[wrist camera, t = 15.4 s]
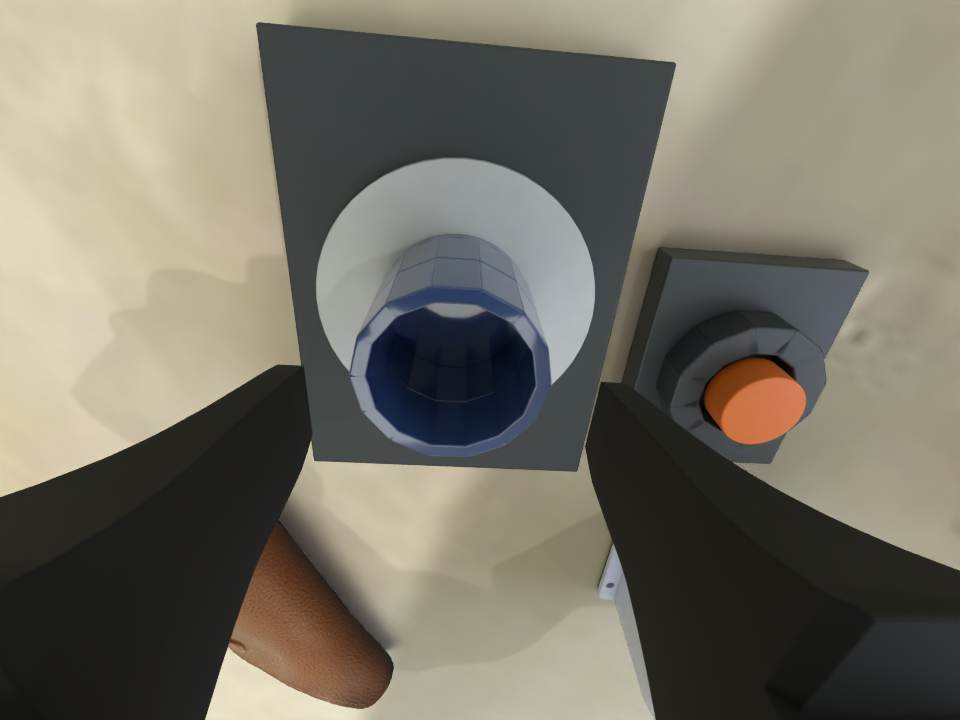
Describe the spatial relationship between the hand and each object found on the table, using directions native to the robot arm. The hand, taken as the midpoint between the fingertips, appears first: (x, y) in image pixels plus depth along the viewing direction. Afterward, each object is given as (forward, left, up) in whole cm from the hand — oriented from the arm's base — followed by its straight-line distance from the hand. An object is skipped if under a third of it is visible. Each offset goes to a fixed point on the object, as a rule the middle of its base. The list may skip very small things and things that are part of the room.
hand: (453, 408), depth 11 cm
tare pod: (-3, -12, -9) cm, 15 cm away
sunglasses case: (-21, +10, -9) cm, 25 cm away
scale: (0, 0, -9) cm, 9 cm away
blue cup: (0, 0, -6) cm, 6 cm away
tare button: (-3, -12, -6) cm, 14 cm away
